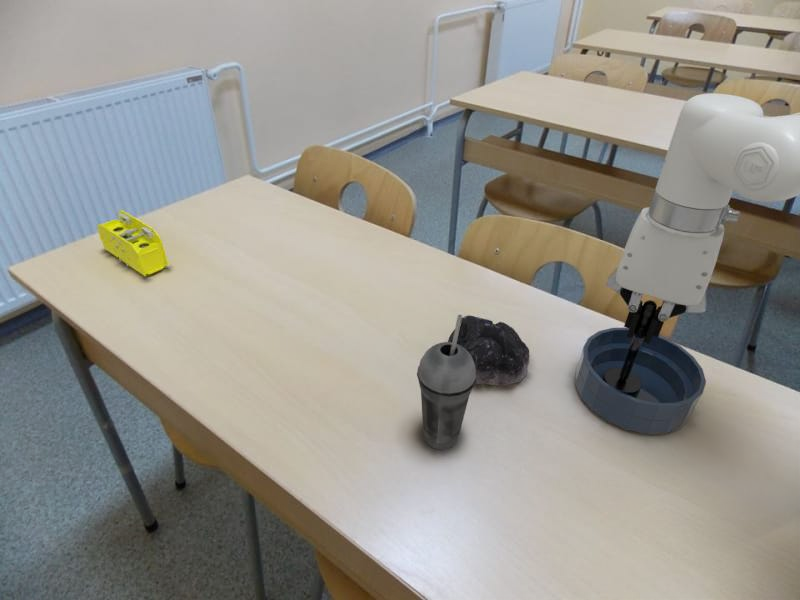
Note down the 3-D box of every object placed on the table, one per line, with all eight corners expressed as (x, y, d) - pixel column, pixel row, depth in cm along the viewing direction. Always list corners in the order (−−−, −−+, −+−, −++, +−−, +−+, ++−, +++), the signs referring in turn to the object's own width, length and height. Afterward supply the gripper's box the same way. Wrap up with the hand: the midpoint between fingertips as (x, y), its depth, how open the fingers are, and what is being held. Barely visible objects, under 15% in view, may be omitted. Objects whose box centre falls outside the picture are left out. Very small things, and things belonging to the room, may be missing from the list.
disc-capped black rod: (646, 396, 75) (682, 308, 65) (616, 405, 73) (649, 316, 64) (622, 372, 79) (653, 286, 69) (593, 380, 77) (621, 294, 68)
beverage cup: (402, 431, 70) (406, 314, 59) (443, 407, 74) (454, 293, 62) (437, 468, 66) (449, 349, 54) (479, 440, 69) (498, 324, 57)
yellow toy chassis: (172, 268, 102) (161, 231, 97) (144, 280, 99) (132, 242, 94) (130, 242, 110) (119, 206, 105) (104, 252, 107) (90, 215, 102)
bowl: (716, 419, 73) (732, 388, 70) (622, 450, 68) (635, 419, 65) (636, 347, 85) (647, 318, 82) (553, 369, 81) (561, 340, 77)
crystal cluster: (482, 327, 90) (481, 279, 84) (550, 360, 82) (555, 310, 76) (430, 368, 83) (425, 319, 77) (499, 409, 74) (499, 358, 69)
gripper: (764, 214, 59) (705, 339, 69) (620, 184, 65) (587, 303, 76) (763, 242, 53) (700, 372, 64) (608, 206, 60) (574, 330, 70)
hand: (639, 334), depth 70 cm, fingers closed on disc-capped black rod
